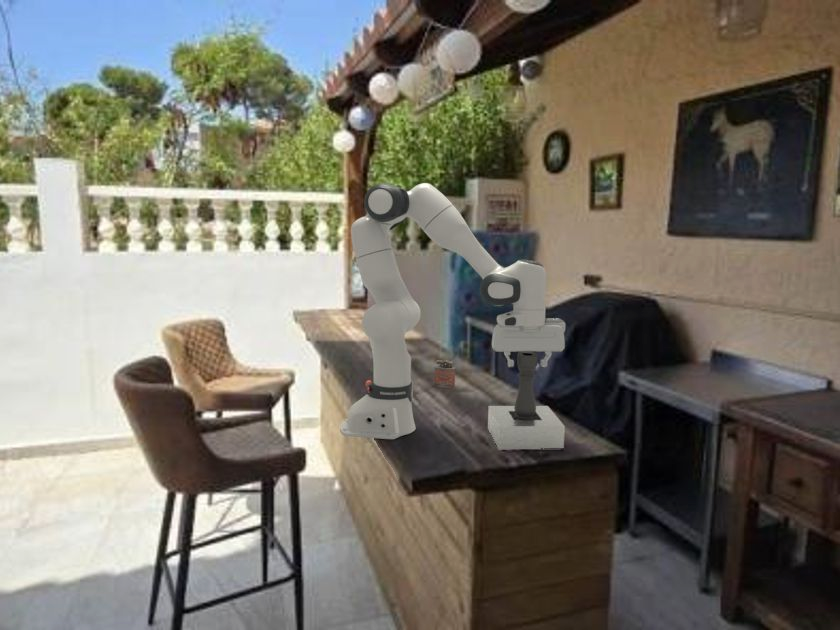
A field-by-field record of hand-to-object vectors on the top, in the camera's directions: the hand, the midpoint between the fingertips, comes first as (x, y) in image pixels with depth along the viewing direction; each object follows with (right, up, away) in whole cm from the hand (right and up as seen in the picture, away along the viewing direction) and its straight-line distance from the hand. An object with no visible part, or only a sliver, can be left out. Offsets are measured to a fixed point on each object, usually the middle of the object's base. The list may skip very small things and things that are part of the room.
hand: (527, 366), depth 169 cm
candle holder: (0, -21, +3) cm, 22 cm away
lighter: (-21, -13, +57) cm, 62 cm away
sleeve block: (0, -21, +3) cm, 21 cm away
